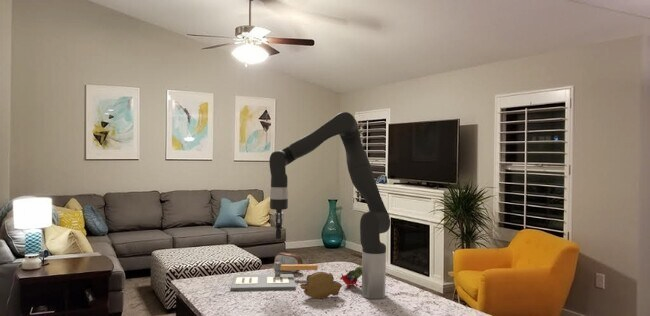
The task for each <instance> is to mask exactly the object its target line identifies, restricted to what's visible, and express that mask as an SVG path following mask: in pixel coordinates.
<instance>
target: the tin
mask: <svg viewBox="0 0 650 316" xmlns="http://www.w3.org/2000/svg"><path fill="white" fill-rule="evenodd" d="M273 259H274V260H273V261H274V262H273V263H275V262H281V265H300V264H303V260H302V259H303V258H302V257H301V256H300V255H298V254H296V253H290V252H284V251H281V252H279V253H277V254H276V255H275V256H274V258H273ZM280 272H286V273H290V274H296V273H299V272H301V270H280Z"/></svg>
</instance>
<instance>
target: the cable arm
mask: <svg viewBox="0 0 650 316" xmlns="http://www.w3.org/2000/svg"><path fill="white" fill-rule="evenodd" d="M318 269H319V267H318V264H314V263H313V264H311V263H310V264H300V265H281V262H273V270H274V271H275V270H276V271H279V270H280V271H281V270H300V271H318Z"/></svg>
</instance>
